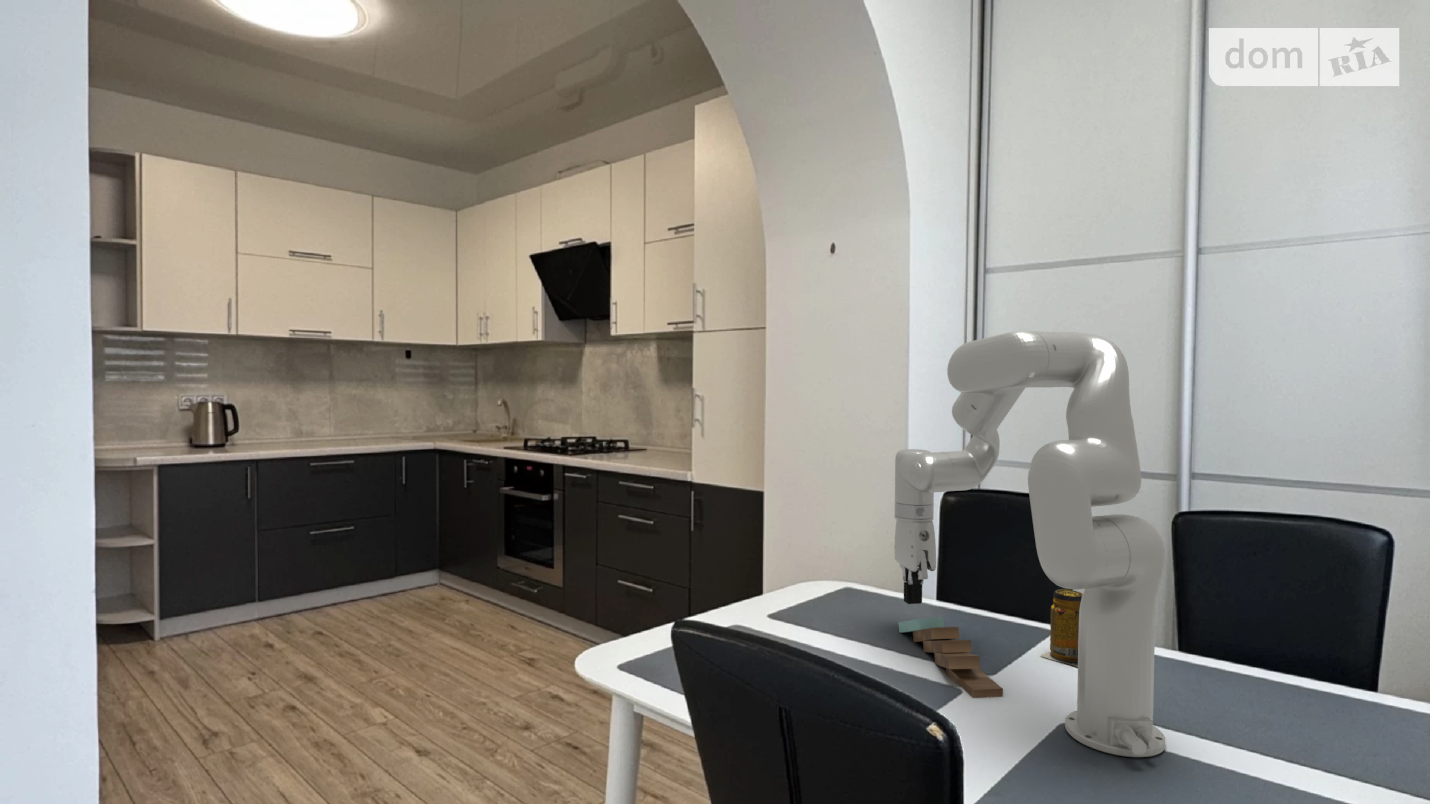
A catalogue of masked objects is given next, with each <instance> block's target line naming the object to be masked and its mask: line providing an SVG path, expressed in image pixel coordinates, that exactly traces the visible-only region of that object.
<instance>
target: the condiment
mask: <svg viewBox="0 0 1430 804" xmlns="http://www.w3.org/2000/svg"><path fill="white" fill-rule="evenodd" d="M1083 593H1084V592H1080V591H1078V590H1073V589H1065V588H1062V589H1057V590H1054V591H1053V599H1052V601H1053V604H1052V605H1051V606H1050V627H1049V628H1050V630H1049V632H1050V633H1049V635H1050V639H1049V642H1050V644H1049V650H1050V651H1049V652H1047V653H1046V652H1045V653H1043V654H1041V655H1040V657H1043V658H1046V659H1048V660H1053V661H1054V662H1059V663H1063V664H1067V665H1070V666H1074V667H1076V668H1078V638H1079V610H1080V603H1081V599H1082V595H1083Z"/></svg>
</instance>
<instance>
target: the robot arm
mask: <svg viewBox="0 0 1430 804" xmlns="http://www.w3.org/2000/svg"><path fill="white" fill-rule="evenodd" d="M946 369H947V370H946V371H947V374H946V375H947V378H948V382H949V384H950V385H951V387H952V388H954V390H956V391H958V392H960V394H959V395H958V397H957V398H956V400H955V401H954V402H953V404H952V407H951V415H952V418H953V420H954V421H955V423H956V424H957V426H959V427H960V428H961V429H962V430H963V431H965V432H966V433H968V434H969V435H972V437H971V439H970V440H969V441H968V443H967V445H966V446H965V447H964V448H963V449H962V450H961V451H959V450H958V451H956V450H955V451H954V450H953V451H937V452H931V451H930V450H926V449H917V448H916V449H915V448H913V449H912V448H911V449H910V448H909V449H907V448H906V449H905V448H904V449H900V450H898V451H897V452H896V454H895V459H894V460H895V461H894V519H895V521H896V522H895V531H894V559H895V560H896V562H897V563H898V564H899V567H900V568H901V570H902V580H903V602H905V603H906V604H907V605H919V604H922V603H923V584H924V580H928V579H929V576H928V572H929V571H930V572H934V571H936V569H937V549H936V547H937V546H936V533H935V526H934V511H935V509H934V501H935V499H934V497H935V493H944V492H955V491H956V492H957V491H968V490H971V489H974V488H976V487H978V486H979V485H980V484H982V482H983V481H984V480H985V479H986V477H987V476H988V475H989V473H990V472H991V471H992V469H993V468H994V467H995V465H996V463H997V460H998V458H999V455H1000V446H1001V445H1000V441H1001V440H1000V435H999V432H998V428H999V427H1000V426H1001V424H1002V423H1003V421H1004V420H1005V418H1006V417H1007V416H1008V413H1009V412H1010V411H1011V409H1012V408H1013V407H1014V405H1015V403H1016V402H1017V401H1018V400H1019V398H1020V397H1021V395H1022V393H1023V392H1024V391H1025V389H1027V388H1072V389H1073V390H1072V392H1071V394H1070V396H1069V399H1068V401H1067V406H1066V412H1065V420H1066V425H1067V433H1068V439H1063V440H1055V441H1051V442H1048V443H1046V444H1044V445H1042V446H1041V447H1040V448H1038V450H1037V451H1036V452H1035V453H1034V455H1033V456H1032V459H1031V462H1030V464H1029V468H1028V473H1027V475H1028V476H1027V484H1028V485H1027V486H1028V495H1029V502H1030V510H1031V518H1032V525H1033V532H1034V533H1033V534H1034V539H1035V540H1034V541H1035V548H1036V552H1037V557H1038V560H1039V564H1040V566H1041V568H1042V571H1043V572H1044V574H1045V575H1046V576H1047V578H1048V579H1049V580H1050V581H1051V582H1052V583H1054V584H1055V585H1056V586H1058V587H1060V588H1062V589H1065V590H1073V591H1076V590H1083V592H1082V593H1083V595H1082V599H1081V603H1080V610H1079V638H1078V667H1077V690H1076V691H1077V692H1076V693H1077V694H1076V695H1077V699H1076V701H1077V702H1076V710H1075V711H1073V712H1070V713H1068V714H1067V715H1066V716H1065V719H1064V727H1065V730H1066V732H1067V733H1068V734H1069V735H1070V736H1071V737H1072V738H1073V739H1074V740H1076V741H1078V743H1081V744H1082V745H1084V746H1085V747H1086V746H1087V747H1088V748H1089V747H1090V748H1091V749H1095V750H1097V751H1100V752H1103V753H1107V754H1110V755H1114V756H1120V757H1127V758H1128V757H1129V758H1145V757H1146V758H1147V757H1148V758H1149V757H1153V756H1157V755H1159V754H1161V753H1163V751H1165V749H1166V737H1165V735H1164V733H1163V732H1162V731H1161V730H1160V729H1159V728H1158V727H1156V726H1154V691H1155V690H1154V689H1155V688H1154V685H1155V682H1154V681H1155V650H1156V649H1155V646H1156V645H1155V643H1156V642H1155V641H1156V640H1155V639H1156V617H1157V616H1156V615H1157V605H1158V604H1157V603H1158V594H1159V589H1160V585H1161V580H1162V576H1163V572H1164V567H1165V561H1166V551H1165V544H1164V541H1163V538H1162V536H1161V534H1160V533H1159V532H1158V530H1157V529H1156V528H1155V526H1153V525H1152V523H1149V522H1148V521H1147V520H1145V519H1143V518H1140V517H1139V516H1134V515H1129V514H1105V515H1094V516H1093V511H1092V508H1093V507H1094V508H1095V507H1104V506H1105V507H1106V506H1112V505H1119V504H1120V505H1121V504H1124V503H1127V502H1129V501H1131V500H1133V499H1135V497H1136V496H1137V495H1138V494H1139V493H1140V490H1141V487H1142V486H1141V485H1142V472H1141V466H1140V458H1139V451H1138V450H1139V449H1138V445H1137V439H1136V430H1135V426H1134V425H1135V424H1134V420H1133V414H1132V409H1131V400H1130V399H1131V398H1130V373H1129V366H1128V363H1127V360H1126V356H1125V355H1124V353H1123V351H1122V350H1121V349H1120V348H1119V347H1118V346H1117V345H1116V344H1115V342H1113V341H1111V340H1110V339H1107V338H1105V337H1103V336H1099V335H1096V334H1092V333H1084V332H1076V331H1075V332H1074V331H1073V332H1069V331H1040V330H1039V331H1037V330H1036V331H1034V330H1032V331H1031V330H1021V331H1020V330H1019V331H1011V332H1005V333H1001V334H997V335H993V336H988V337H984V338H979V339H976V340H971V341H968V342H965V343H963V344H961V345H960V346H958V347H957V349H955V350H954V351H953V353H952V355H951V356H950V358H949V360H948V364H947V368H946Z"/></svg>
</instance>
